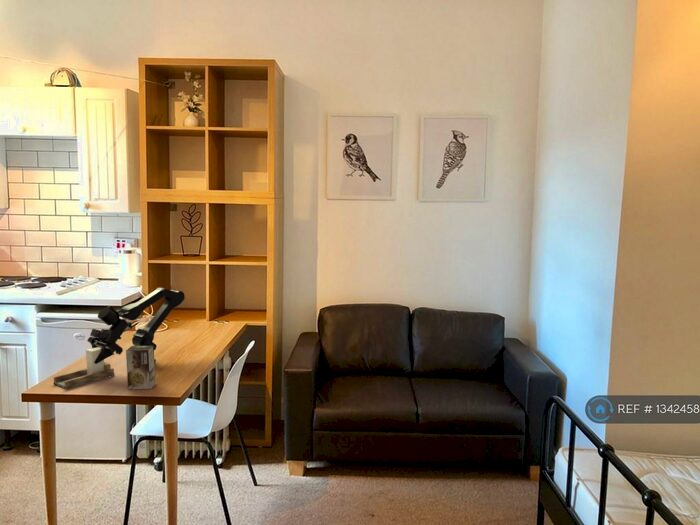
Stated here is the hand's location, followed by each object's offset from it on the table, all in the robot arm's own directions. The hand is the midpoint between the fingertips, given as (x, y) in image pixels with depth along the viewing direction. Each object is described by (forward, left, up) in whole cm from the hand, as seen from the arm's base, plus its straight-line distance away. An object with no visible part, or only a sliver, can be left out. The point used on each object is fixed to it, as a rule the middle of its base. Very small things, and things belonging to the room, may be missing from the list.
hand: (92, 362), depth 214 cm
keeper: (-1, -1, -5) cm, 5 cm away
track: (+2, +3, -7) cm, 7 cm away
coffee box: (-26, +7, -7) cm, 28 cm away
